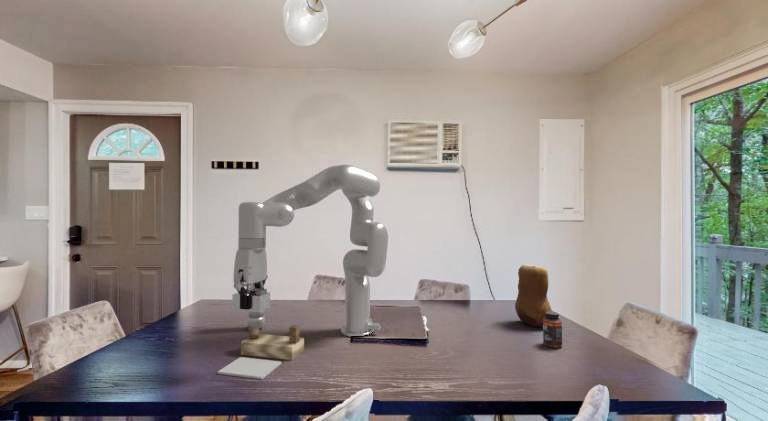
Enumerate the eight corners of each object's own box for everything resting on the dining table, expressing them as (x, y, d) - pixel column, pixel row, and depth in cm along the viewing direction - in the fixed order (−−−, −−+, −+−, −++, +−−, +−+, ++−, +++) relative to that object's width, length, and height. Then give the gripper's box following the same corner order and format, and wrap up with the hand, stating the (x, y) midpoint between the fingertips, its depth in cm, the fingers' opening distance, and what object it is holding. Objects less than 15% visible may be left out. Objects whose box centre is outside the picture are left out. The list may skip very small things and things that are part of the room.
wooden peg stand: (303, 350, 111) (304, 322, 111) (292, 360, 103) (292, 330, 103) (255, 345, 115) (256, 318, 115) (240, 354, 107) (241, 326, 107)
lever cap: (269, 307, 99) (270, 288, 99) (260, 312, 94) (260, 292, 94) (243, 305, 101) (243, 286, 101) (232, 310, 96) (232, 290, 96)
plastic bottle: (259, 332, 128) (259, 279, 128) (243, 330, 129) (244, 279, 129) (268, 326, 134) (268, 276, 134) (253, 325, 135) (253, 276, 136)
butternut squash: (553, 323, 140) (553, 263, 140) (549, 332, 128) (549, 267, 129) (518, 318, 147) (518, 261, 147) (511, 326, 136) (511, 264, 136)
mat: (281, 363, 100) (281, 361, 100) (261, 379, 91) (261, 377, 91) (240, 358, 103) (240, 357, 103) (217, 373, 94) (217, 371, 94)
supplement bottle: (564, 345, 116) (564, 312, 116) (559, 350, 111) (559, 316, 112) (546, 340, 120) (546, 309, 120) (540, 345, 116) (540, 312, 116)
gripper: (258, 241, 107) (257, 298, 107) (220, 246, 90) (219, 313, 90) (279, 242, 105) (278, 300, 105) (245, 247, 89) (244, 315, 88)
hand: (251, 305), depth 97 cm, fingers closed on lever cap, 5 cm apart
